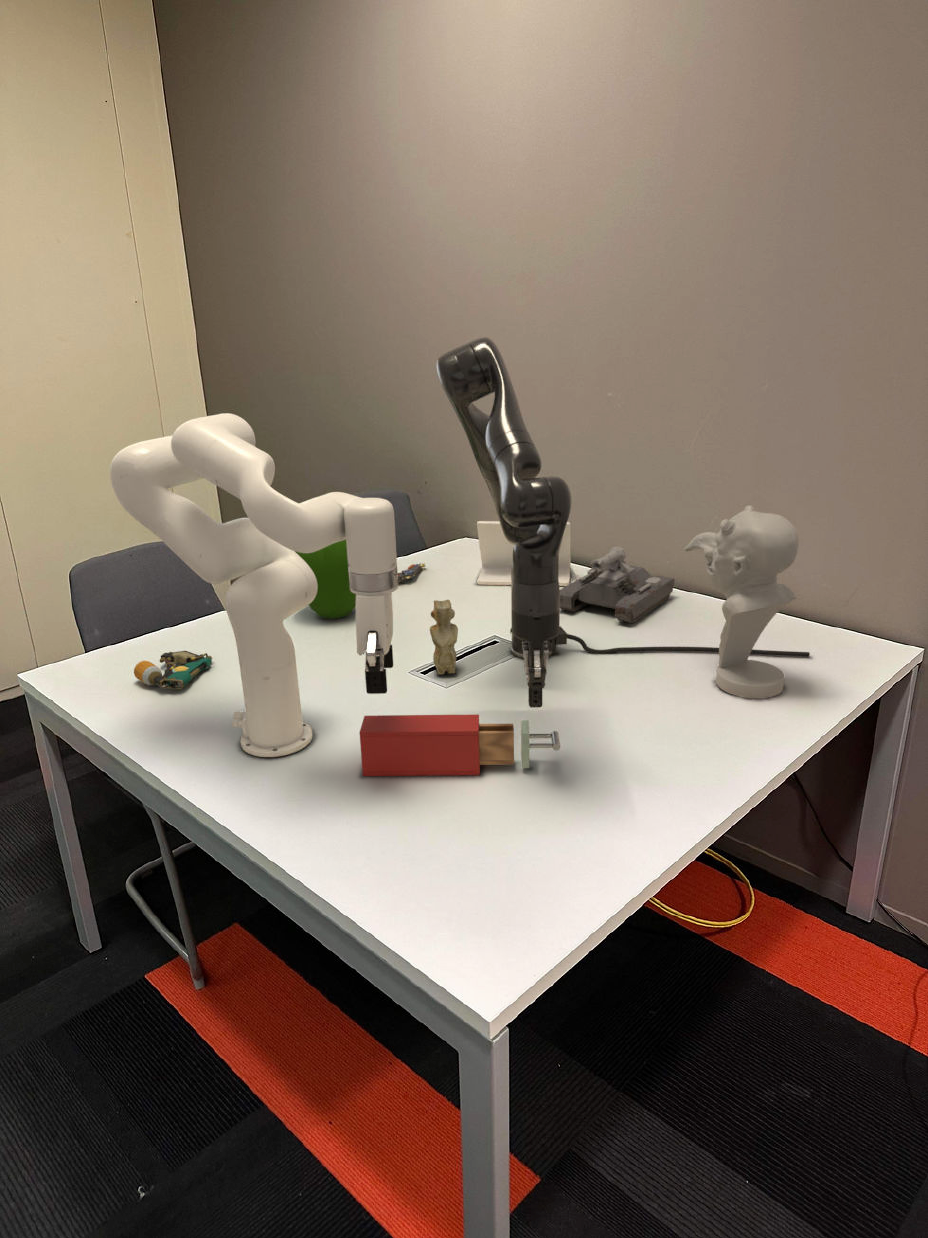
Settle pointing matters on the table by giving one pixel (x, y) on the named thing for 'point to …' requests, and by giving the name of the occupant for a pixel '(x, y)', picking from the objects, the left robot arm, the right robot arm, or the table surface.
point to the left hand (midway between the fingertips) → (380, 679)
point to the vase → (331, 581)
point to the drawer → (509, 743)
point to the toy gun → (410, 571)
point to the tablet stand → (511, 555)
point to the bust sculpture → (748, 593)
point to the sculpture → (444, 637)
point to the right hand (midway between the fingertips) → (535, 705)
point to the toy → (617, 588)
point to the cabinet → (420, 745)
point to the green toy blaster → (172, 669)
